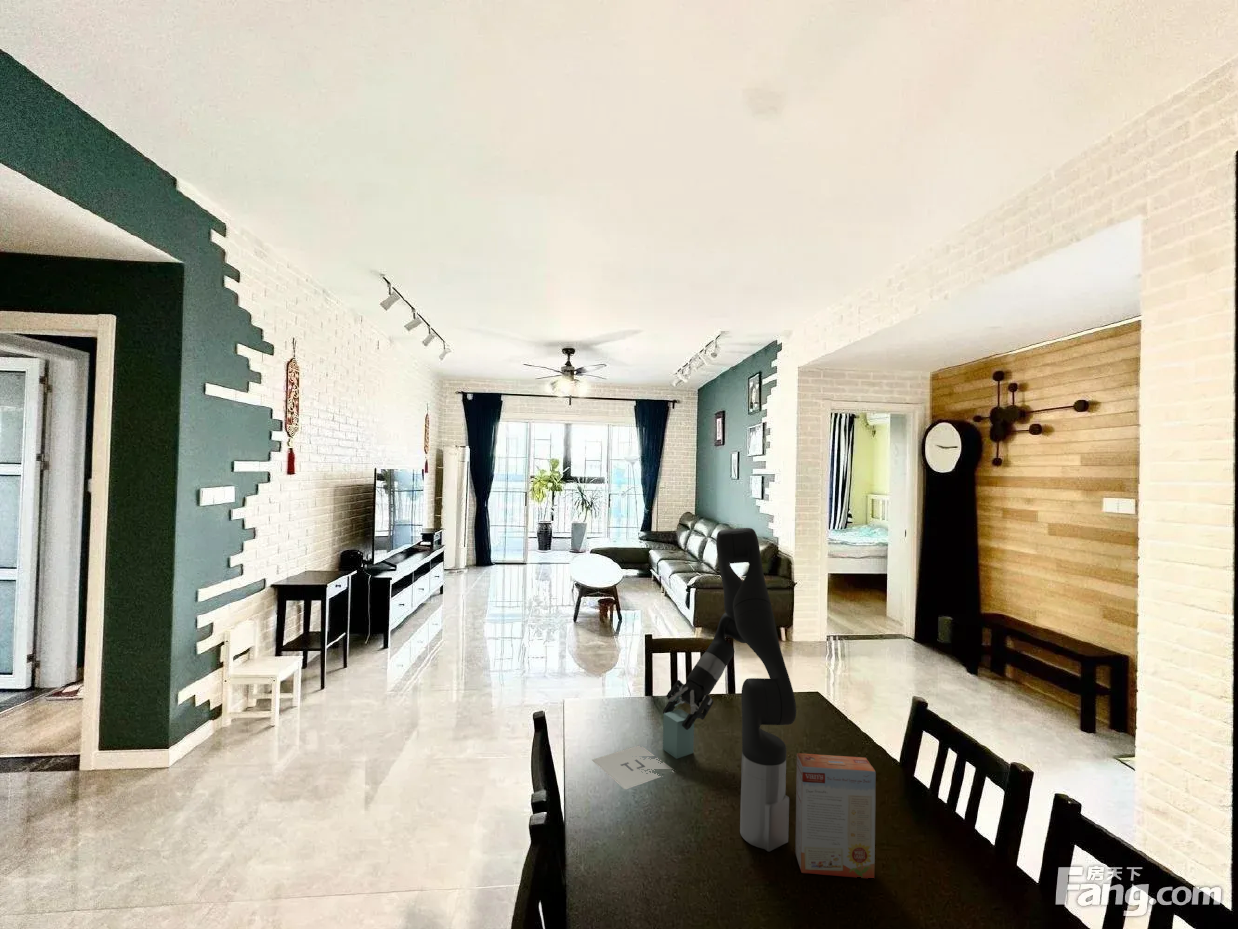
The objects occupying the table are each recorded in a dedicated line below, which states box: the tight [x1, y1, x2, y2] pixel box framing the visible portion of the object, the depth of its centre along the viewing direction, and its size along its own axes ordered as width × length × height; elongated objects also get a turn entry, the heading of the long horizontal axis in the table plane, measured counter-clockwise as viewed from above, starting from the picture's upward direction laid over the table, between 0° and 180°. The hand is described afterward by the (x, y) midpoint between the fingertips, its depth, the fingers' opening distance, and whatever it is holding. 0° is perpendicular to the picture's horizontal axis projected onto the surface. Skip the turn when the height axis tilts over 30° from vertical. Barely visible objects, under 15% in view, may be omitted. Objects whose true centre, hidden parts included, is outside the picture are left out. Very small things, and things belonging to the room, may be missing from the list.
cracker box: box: [795, 752, 877, 879], centre depth 111 cm, size 14×6×21 cm, turn 84°
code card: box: [591, 744, 675, 790], centre depth 146 cm, size 16×16×1 cm
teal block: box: [662, 708, 695, 760], centre depth 154 cm, size 6×6×10 cm
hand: (674, 721), depth 154 cm, fingers open, 8 cm apart
